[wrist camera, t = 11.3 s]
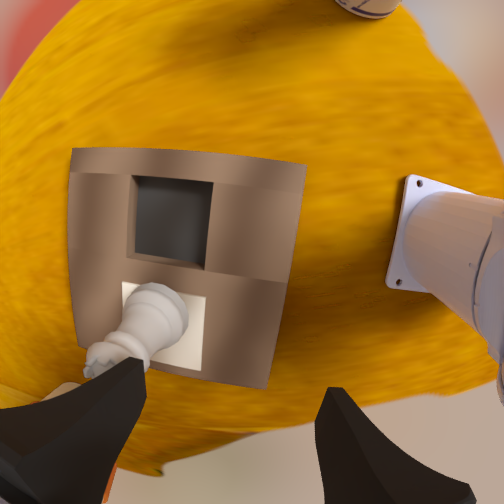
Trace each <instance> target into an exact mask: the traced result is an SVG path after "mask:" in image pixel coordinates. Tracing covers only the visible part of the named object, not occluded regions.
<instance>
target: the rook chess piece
mask: <svg viewBox="0 0 504 504" xmlns="http://www.w3.org/2000/svg"><path fill="white" fill-rule="evenodd" d="M188 321H189V314H188V311H187V308H186V305H185V302H184V301H183V300H182V299H181V298H180V296H179V295H178V294H177V293H176V292H175V291H173V290H172V289H170V288H168V287H167V286H165V285H162V284H157V283H152V282H151V283H147V284H142V285H140V286H139V287H137V288H136V289H135V290H134V291H132V293H131V295H130V296H128V297H127V300H126V302H125V304H124V307H123V310H122V322H121V324H120V325H119V327H118V329H117V330H116V331H115V332H110V333H109V334H108V335H107V336H105V339H104V342H96V343H94V344H92V345H91V346H90V347H89V348H88V350H87V354H86V360H87V361H86V362H85V363H84V364H85V365H87V366H86V367H85V368H84V369H83V373H84V377H85V378H90V377H92V379H94V378H95V377H97V376H99V375H100V374H102V373H104V372H105V371H107V370H108V369H110V368H112V367H113V366H115V365H116V364H118V363H119V362H121V361H123V360H124V359H126V358H128V357H129V356H130V357H134V358H138V359H142V360H143V361H144V373H145V372H146V371H147V370H148V368H149V366H150V358H151V357H152V356H153V355H154V354H155V353H156V352H157V351H161V350H163V349H167V348H169V347H171V346H172V345H174V344H175V343H177V342H178V341H179V340H180V338H181V336H183V334H184V333H185V331H186V329H187V327H188Z"/></svg>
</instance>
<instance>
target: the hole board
mask: <svg viewBox="0 0 504 504" xmlns="http://www.w3.org/2000/svg"><path fill="white" fill-rule="evenodd" d="M306 169H307V165H303V164H297V163H291V162H285V161H278V160H271V159H264V158H256V157H248V156H240V155H231V154H222V153H211V152H200V151H187V150H172V149H152V148H72V155H71V165H70V177H69V194H68V259H69V275H70V287H71V297H72V306H73V314H74V321H75V328H76V334H77V340H78V346H79V347H82V348H85V349H88V348H89V347H90V346H91V345H92V344H94V343H96V342H104V339H105V336H107V335H108V334H109V333H110V332H115V331H116V330H117V329H118V327H119V325H120V324H121V322H122V310H123V307H124V304H125V302H126V300H127V297H128V296H130V295H131V293H132V291H134V290H135V289H136V288H137V287H139V286H140V285H142V284H147V283H151V282H152V283H157V284H162V285H165V286H167V287H168V288H170V289H172V290H173V291H175V292H176V293H177V294H178V295H179V296H180V298H181V299H182V300H183V301H184V302H185V305H186V308H187V311H188V314H189V321H188V327H187V329H186V331H185V333H184V334H183V336H181V338H180V340H179V341H178V342H177V343H175V344H174V345H172V346H171V347H169V348H167V349H163V350H161V351H157V352H156V353H155V354H154V355H153V356H152V357H151V358H150V366H149V368H152V369H156V370H160V371H164V372H168V373H173V374H177V375H182V376H186V377H191V378H196V379H201V380H206V381H212V382H218V383H223V384H230V385H236V386H243V387H250V388H257V389H266V388H267V384H268V379H269V375H270V370H271V366H272V361H273V356H274V351H275V347H276V342H277V337H278V332H279V327H280V322H281V317H282V312H283V307H284V302H285V296H286V291H287V286H288V280H289V275H290V269H291V263H292V258H293V252H294V246H295V240H296V234H297V228H298V222H299V216H300V209H301V203H302V196H303V190H304V183H305V176H306Z"/></svg>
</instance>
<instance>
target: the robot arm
mask: <svg viewBox="0 0 504 504" xmlns="http://www.w3.org/2000/svg"><path fill="white" fill-rule="evenodd" d="M418 180H419V181H420V186H419V187H418V186H417V181H418ZM398 279H400V282H399V283H398V284H396V281H397V280H398ZM385 283H386V285H387V286H388V287H389V288H394V289H402V290H410V291H418V292H427V293H432V294H433V295H434V296H435V297H437V298H438V299H439V300H440V301H441V302H443V303H444V304H445V305H446V306H447V307H449V308H450V309H451V310H452V311H453V312H455V313H456V314H457V315H458V316H459V317H460V318H462V319H463V320H464V321H465V322H466V323H467V324H469V325H470V326H471V327H472V328H473V329H474V330H475V331H476V332H478V333H479V334H480V335H481V336H482V337H483V338H484V339H485V340H486V341H487V343H488V354H489V355H490V356H491V357H492V358H493V359H494V360H495V361H496V362H497V363H498V364H499V365H500V366H499V370H498V375H497V391H498V395H499V398H500V401H501V403H502V404H503V406H504V200H502V199H497V198H491V197H485V196H478V195H475V194H472V193H470V192H467V191H464V190H461V189H458V188H455V187H452V186H449V185H446V184H443V183H440V182H437V181H434V180H431V179H427V178H424V177H421V176H417V175H408V176H407V177H406V180H405V186H404V193H403V199H402V205H401V211H400V216H399V222H398V227H397V232H396V237H395V241H394V246H393V250H392V255H391V259H390V263H389V267H388V271H387V275H386V279H385ZM146 397H147V395H146V385H145V374H144V361H143V360H142V359H138V358H134V357H130V356H129V357H128V358H126V359H124V360H123V361H121V362H119V363H118V364H116V365H115V366H113V367H112V368H110V369H108V370H107V371H105V372H104V373H102V374H100V375H99V376H97V377H95V378H94V379H92V380H90V381H88V382H86V383H84V384H82V385H80V386H79V387H77V388H75V389H73V390H71V391H68V392H66V393H64V394H61V395H59V396H56V397H53V398H51V399H48V400H44V401H41V402H37V403H33V404H30V405H25V406H20V407H13V408H6V409H0V504H101V503H102V500H103V496H104V493H105V490H106V487H107V484H108V481H109V478H110V475H111V472H112V470H113V467H114V464H115V462H116V460H117V458H118V455H119V453H120V452H121V450H122V448H123V446H124V444H125V442H126V440H127V439H128V437H129V435H130V433H131V431H132V429H133V428H134V426H135V424H136V422H137V420H138V418H139V416H140V414H141V411H142V408H143V406H144V403H145V400H146ZM315 441H316V442H315V443H316V449H317V454H318V460H319V465H320V471H321V476H322V482H323V487H324V497H325V498H324V499H325V504H476V501H477V500H476V498H475V496H474V494H473V492H472V490H471V488H470V486H469V484H467V483H464V482H461V481H458V480H455V479H453V478H449V477H447V476H445V475H443V474H440V473H438V472H436V471H434V470H432V469H430V468H429V467H427V466H425V465H423V464H422V463H420V462H418V461H417V460H415V459H414V458H412V457H411V456H409V455H408V454H406V453H405V452H404V451H403V450H401V449H400V448H399V447H398V446H396V445H395V444H394V443H393V442H392V441H390V440H389V439H388V438H387V437H386V436H385V435H384V434H383V433H382V432H381V431H380V430H379V429H378V428H377V427H376V426H375V425H374V424H373V423H372V422H371V421H370V420H369V418H368V417H367V416H366V415H365V414H364V413H363V412H362V410H361V409H360V408H359V407H358V406H357V404H356V403H355V402H354V401H353V400H352V398H351V397H350V396H349V395H348V393H347V392H346V391H345V390H344V389H343V388H339V387H328V388H327V391H326V394H325V396H324V399H323V402H322V404H321V407H320V409H319V412H318V414H317V417H316V419H315Z"/></svg>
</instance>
